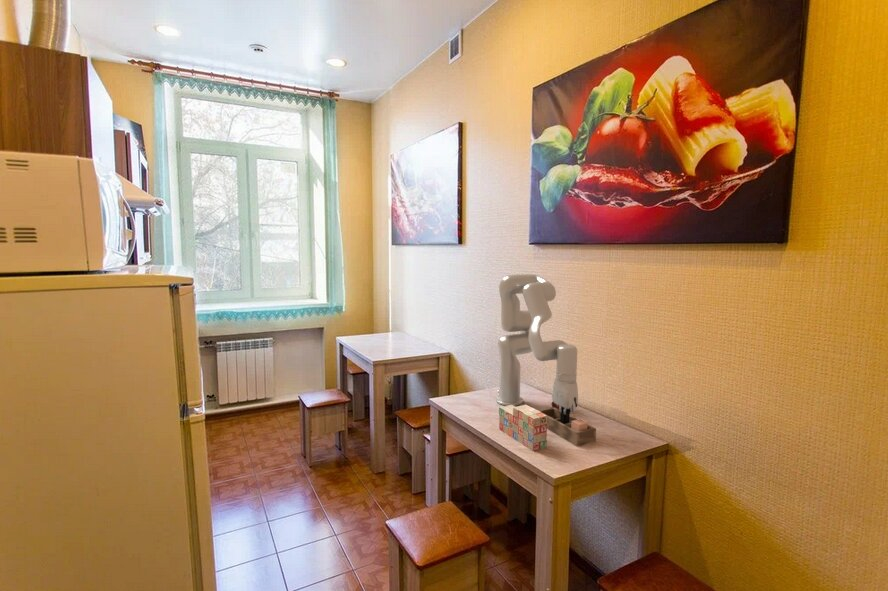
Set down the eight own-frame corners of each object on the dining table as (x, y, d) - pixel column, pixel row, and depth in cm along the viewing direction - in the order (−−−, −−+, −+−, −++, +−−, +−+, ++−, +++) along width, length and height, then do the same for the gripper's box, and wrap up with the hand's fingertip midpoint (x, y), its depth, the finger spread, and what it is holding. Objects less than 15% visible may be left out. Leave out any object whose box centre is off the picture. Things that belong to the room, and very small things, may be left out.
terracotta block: (571, 431, 164) (571, 420, 163) (579, 429, 165) (579, 419, 165) (578, 435, 160) (579, 424, 160) (587, 433, 162) (587, 422, 161)
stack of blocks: (498, 429, 173) (499, 399, 172) (511, 426, 176) (512, 397, 174) (533, 451, 154) (533, 418, 153) (547, 448, 157) (547, 415, 155)
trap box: (536, 422, 179) (536, 410, 179) (553, 418, 183) (553, 407, 182) (576, 446, 158) (577, 433, 157) (595, 441, 161) (596, 428, 161)
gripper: (546, 372, 173) (544, 417, 175) (571, 383, 159) (570, 431, 162) (561, 370, 176) (559, 414, 178) (587, 380, 163) (585, 428, 165)
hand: (564, 422), depth 170 cm, fingers closed
